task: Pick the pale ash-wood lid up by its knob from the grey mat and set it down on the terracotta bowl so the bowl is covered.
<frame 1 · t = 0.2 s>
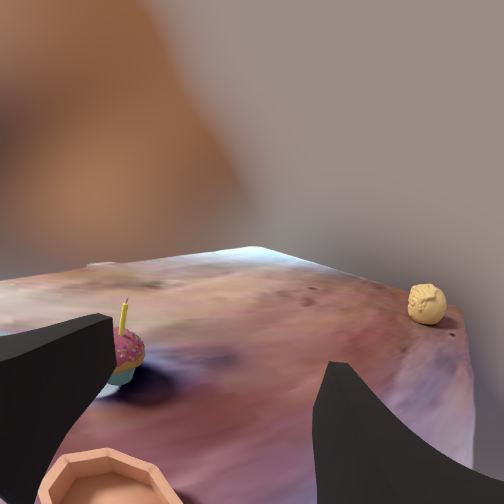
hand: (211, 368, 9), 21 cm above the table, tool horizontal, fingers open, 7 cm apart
cupcake: (116, 376, 34), on the table
butter: (421, 321, 71), on the table
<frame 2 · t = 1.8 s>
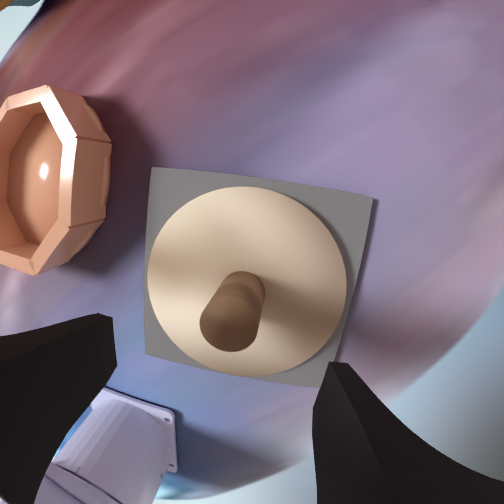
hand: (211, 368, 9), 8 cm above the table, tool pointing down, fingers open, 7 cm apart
mat: (244, 286, 16), on the table
bowl: (47, 178, 16), on the table
lid: (243, 289, 16), resting on mat
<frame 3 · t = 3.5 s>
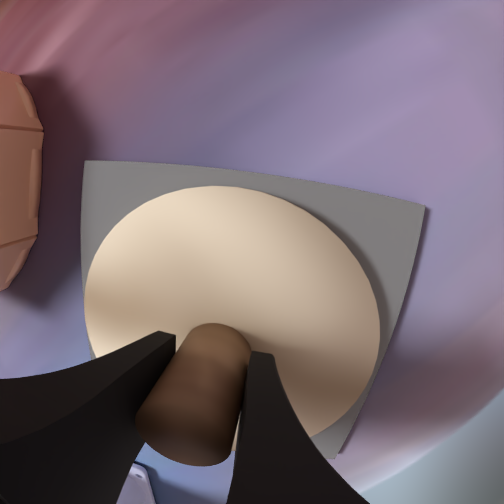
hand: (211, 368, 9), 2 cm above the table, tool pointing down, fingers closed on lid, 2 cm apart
mat: (223, 339, 10), on the table
lid: (220, 345, 10), resting on mat, touching gripper
when the fingers open (6 cm above the table, at t = 6.3 s): lid stays where it is, resting on bowl.
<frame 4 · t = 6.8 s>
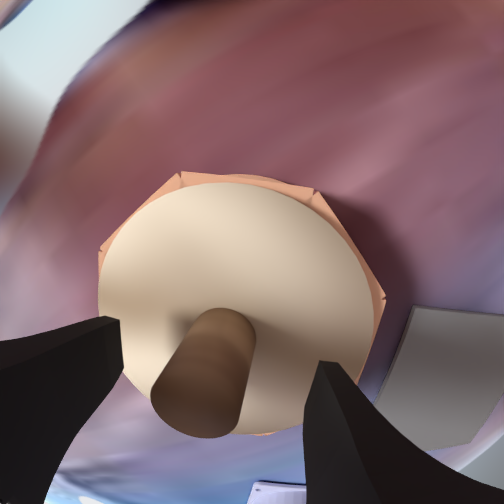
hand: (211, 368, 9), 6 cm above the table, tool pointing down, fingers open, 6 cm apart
mat: (451, 392, 14), on the table
bowl: (240, 298, 14), on the table
lid: (226, 329, 11), point 3 cm above the table, touching bowl
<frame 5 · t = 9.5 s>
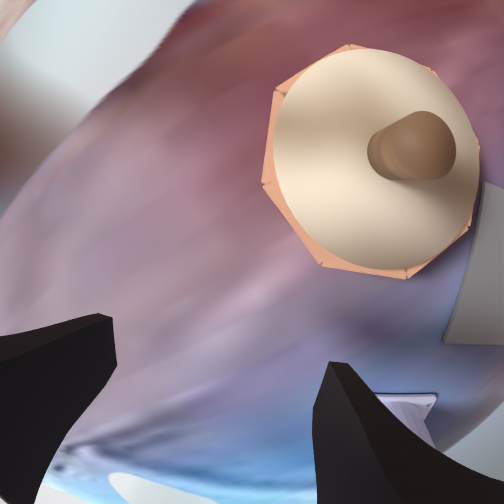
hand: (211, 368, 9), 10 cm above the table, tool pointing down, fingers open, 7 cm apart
bowl: (367, 162, 16), on the table
lid: (386, 155, 12), point 3 cm above the table, touching bowl
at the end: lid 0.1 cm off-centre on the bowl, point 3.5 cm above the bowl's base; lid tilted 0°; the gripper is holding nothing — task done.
